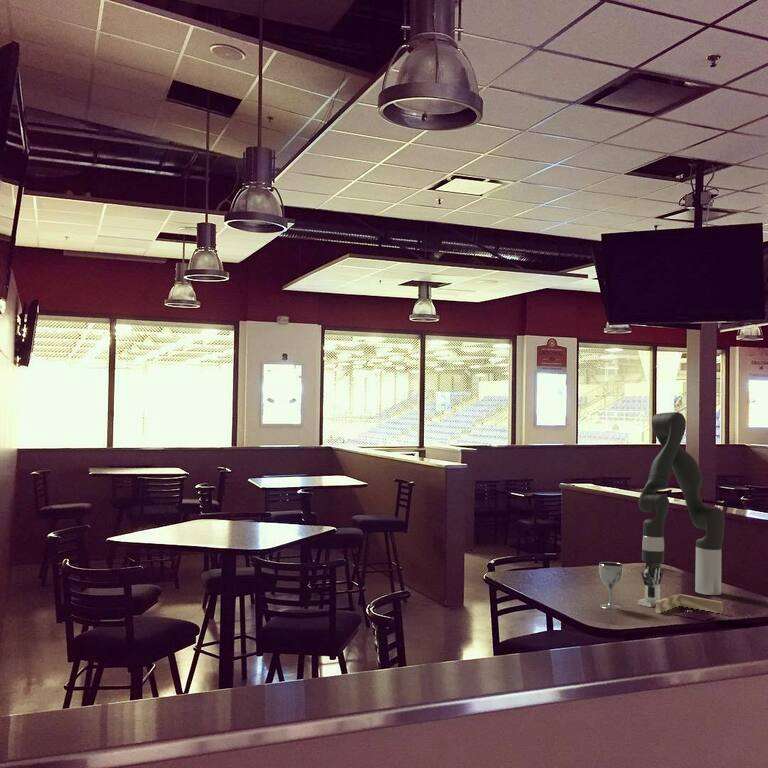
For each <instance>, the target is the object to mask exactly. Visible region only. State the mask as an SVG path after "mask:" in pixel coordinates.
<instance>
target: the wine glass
mask: <svg viewBox="0 0 768 768" xmlns="http://www.w3.org/2000/svg"><path fill="white" fill-rule="evenodd" d="M623 569H624V567H623V564H622V563H619V562H614V561H600V562H599V565H598V571H599V572H598V573H599V577H600V580H601V581H602V583H603V585H605V587H606V588H607V590H608V597H609V598H608V603H607V604H606V603H605V604H604V603H603V604H600V605H599V607H600V608H603V609H605V610H620V609H621V608H622V607H621V606H619V605H615V604H613V603H612V599H613V597H612V595H613V590H615V588H616V586H617V585H619V584H620V582H621V580H622V577H623Z"/></svg>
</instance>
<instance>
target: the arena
mask: <svg viewBox="0 0 768 768" xmlns="http://www.w3.org/2000/svg"><path fill="white" fill-rule="evenodd" d="M678 606H680V607H681V606H683V607H682V608H686V607H688V608H687V609H691V608H693V609H692V610H696V609H699V610H698V611H701V610H705V611H704V612H706V611H711V612H714V613H713V614H716V613H720V614H719V615H722V614H721V613H724V612H723V609H724V607H723V606H724V603H723V601H718V600H714V599H709V598H704V597H700V596H699V597H698V596H693V595H687V594H682V593H676V594H673V595H670V596H667V597H664V598H660V600H657V601H656V606H655V611H654V612H656V613H655V614H659V613H660V614H662V613H661V612H663V613H665V612H664V611H666V612H668V611H667V610H669V609H671V610H673V609H672V608H674V609H676V608H675V607H677V608H679V607H678ZM669 611H670V610H669ZM711 612H710V613H711Z"/></svg>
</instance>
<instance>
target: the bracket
mask: <svg viewBox="0 0 768 768" xmlns="http://www.w3.org/2000/svg"><path fill="white" fill-rule="evenodd" d="M660 599H661V584H655V587H654V598H650V597H648V586H646V585H645V584H644V597H643V598H641V599H638V600H637V605H638V606H643V607H649V608H652V607H656V606H655V605H656V601H657V600H660Z"/></svg>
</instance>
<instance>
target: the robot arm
mask: <svg viewBox="0 0 768 768" xmlns="http://www.w3.org/2000/svg"><path fill="white" fill-rule="evenodd" d="M686 427H687V421H686V418H685V416H684V415H683V413H682V412H679V411H676V412H675V411H672V412H661V413H656V414H654V415H653V417H652V419H651V428H652V430H653V433H654V435H655V437H656V439H657V441H658V443H659V445H660V446H661V448H662V449H661V450H660V452H659V453H658V454H657V455H656V457H655V458H654V459H653V462H652V463H651V467H650V469H649V474H648V479H647V482H646V483H645V486H644V487H643V489H642V491H641V493H640V495H639V498H638V507H639V509H640V511H642V512H644V513H652V514H655V517H654V518H648V519H647V518H645V520H644V521H643V526H642V528H643V529H642V530H643V531H642V544H641V545H642V546H641V547H642V549H641V561H642V562H645V566H644V569H645V570H644V571H641V573H640V574H641V577H642V581H643V584H644V586H645V585H646V586H648V597H650V598H654V587H655V584H659V585H661V582H662V580H663V579H662V578H663V574H664V572H665V569H664V568H661V564H663V563H664V562H665V538H664V537H665V536H664V535H665V534H664V530H665V529H664V527H665V523H666V522H665V521H666V518H667V514H668V512H669V509H670V499H669V498H668V496H667V495H666V494H664V493H657V492H658V491H663V490H665V489H667V488H668V486H669V481H670V477H671V472H672V471H673V474H674V476H675V478H676V481H677V484H678V485H679V488H680V490H681V493H682V495H683V498H684V500H685V504H686V507H687V510H688V514H689V518H690V520H691V522H692V524H693V526H694V527H695V528H696V529H700V530H704V531H706V533H705V536H704V537H701V538H698V539H696V541H695V572H694V573H695V576H694V577H695V579H694V580H695V581H694V582H695V583H694V586H695V587H694V588H695V589H694V591H695V593H698V594H701V595H708V596H718V595H719V596H720V595H722V548H723V547H722V546H723V543H724V538H725V537H724V536H725V535H724V534H725V533H724V532H725V523H726V522H725V521H726V520H725V519H726V518H725V514H724V512H723V510H722V509H721V508H719V507H717V506H709V505H708V506H707V505H705V504H704V502H703V500H702V497H701V494H700V493H701V492H700V490H701V486H702V483H703V482H702V481H703V476H702V472H701V469H700V466H699V465H698V462H697V461H696V459H695V458H694V457H693V456H692V454H690V453H689V452H687V450H686V449H684V448H683V447H681V442H682V440H683V437H684V435H685V432H686Z"/></svg>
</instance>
